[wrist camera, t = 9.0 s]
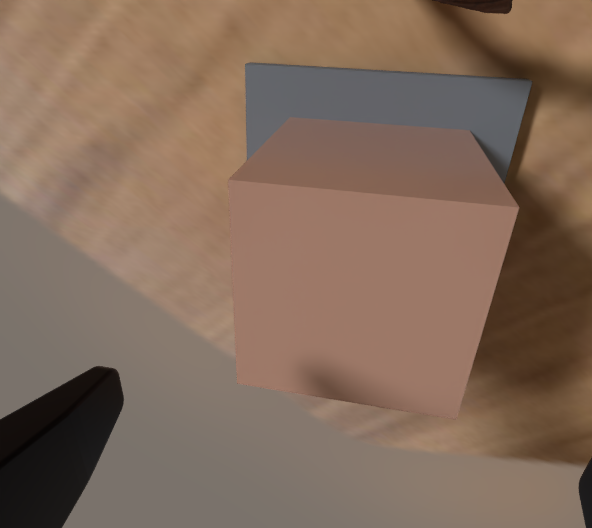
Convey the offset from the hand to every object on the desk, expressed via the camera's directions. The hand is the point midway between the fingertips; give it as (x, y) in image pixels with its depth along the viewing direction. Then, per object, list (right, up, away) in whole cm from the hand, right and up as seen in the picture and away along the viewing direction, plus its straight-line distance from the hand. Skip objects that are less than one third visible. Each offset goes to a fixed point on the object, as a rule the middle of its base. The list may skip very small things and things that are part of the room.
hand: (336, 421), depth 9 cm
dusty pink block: (+2, +5, +10) cm, 11 cm away
